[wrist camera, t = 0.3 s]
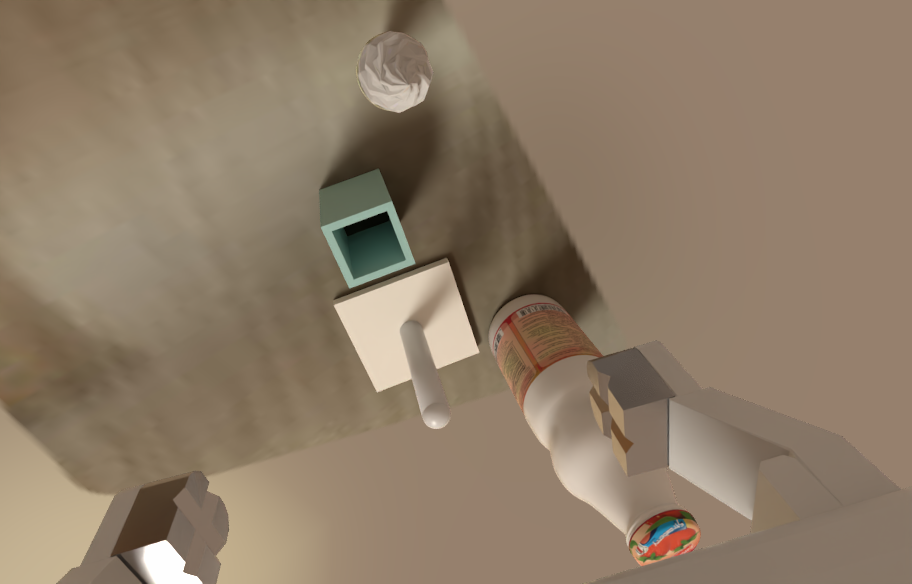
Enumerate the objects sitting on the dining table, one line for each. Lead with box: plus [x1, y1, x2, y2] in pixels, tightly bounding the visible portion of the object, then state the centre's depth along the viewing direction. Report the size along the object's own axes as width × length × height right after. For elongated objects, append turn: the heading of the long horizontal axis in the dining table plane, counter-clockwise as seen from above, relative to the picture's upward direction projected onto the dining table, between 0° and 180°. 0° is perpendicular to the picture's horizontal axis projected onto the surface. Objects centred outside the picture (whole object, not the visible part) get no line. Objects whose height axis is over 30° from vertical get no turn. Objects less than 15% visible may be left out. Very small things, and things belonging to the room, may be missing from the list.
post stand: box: [333, 258, 479, 429], centre depth 49 cm, size 12×12×15 cm
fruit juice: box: [489, 294, 701, 566], centre depth 47 cm, size 9×9×28 cm
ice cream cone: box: [356, 31, 434, 113], centre depth 36 cm, size 5×5×15 cm
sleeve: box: [319, 169, 415, 288], centre depth 44 cm, size 6×6×9 cm
